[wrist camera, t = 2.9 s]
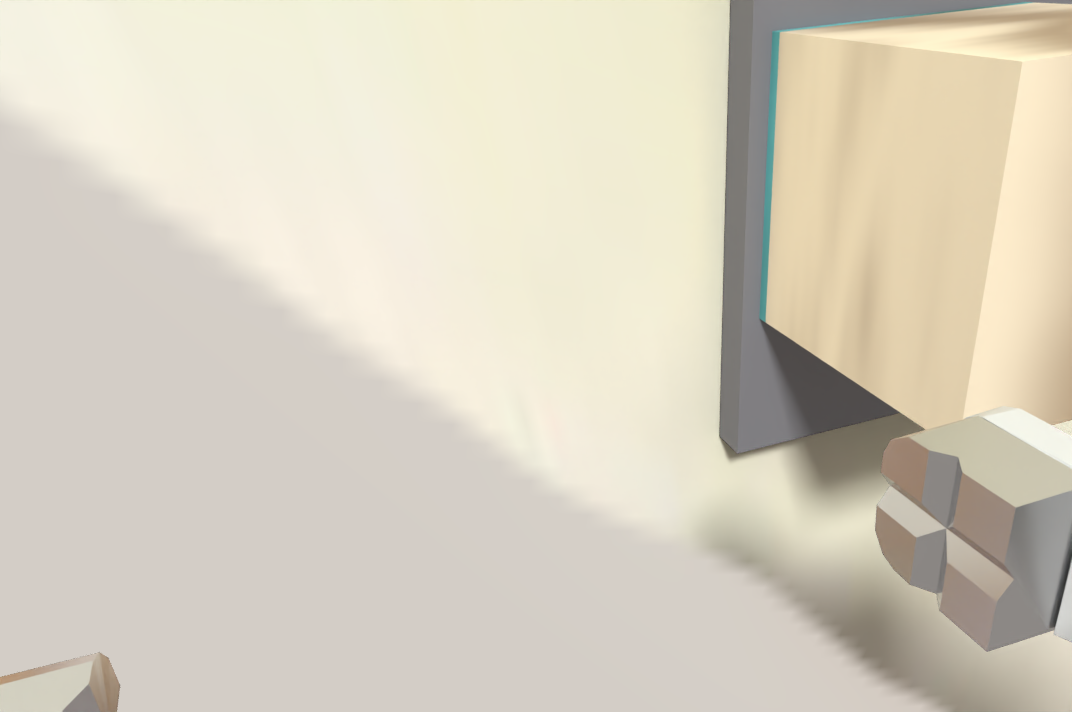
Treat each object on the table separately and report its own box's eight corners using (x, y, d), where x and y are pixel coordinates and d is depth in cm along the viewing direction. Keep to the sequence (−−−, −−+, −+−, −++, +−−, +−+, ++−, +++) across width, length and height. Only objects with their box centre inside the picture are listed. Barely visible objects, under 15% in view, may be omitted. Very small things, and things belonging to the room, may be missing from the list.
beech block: (1025, 2, 21) (1349, 16, 15) (981, 271, 24) (1235, 375, 18) (772, 31, 19) (1022, 61, 13) (759, 318, 22) (956, 451, 16)
